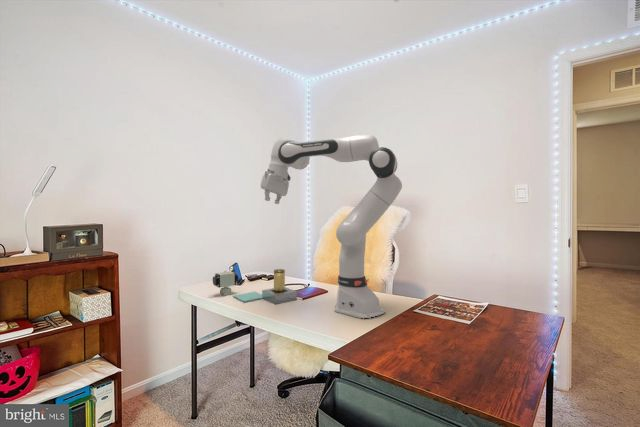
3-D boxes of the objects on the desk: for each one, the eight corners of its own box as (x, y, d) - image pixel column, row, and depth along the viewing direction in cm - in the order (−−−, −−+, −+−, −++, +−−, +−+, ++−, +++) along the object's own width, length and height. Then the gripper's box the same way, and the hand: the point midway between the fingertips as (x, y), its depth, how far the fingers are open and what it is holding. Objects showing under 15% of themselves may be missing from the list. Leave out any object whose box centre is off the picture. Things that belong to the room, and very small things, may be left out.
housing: (296, 299, 160) (296, 291, 159) (275, 304, 152) (275, 295, 152) (283, 294, 169) (283, 286, 169) (262, 298, 161) (262, 290, 161)
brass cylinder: (286, 299, 160) (286, 270, 160) (277, 301, 157) (277, 271, 156) (281, 297, 164) (281, 268, 164) (271, 298, 161) (271, 270, 160)
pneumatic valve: (238, 293, 170) (238, 270, 170) (216, 297, 163) (215, 273, 162) (233, 291, 174) (233, 268, 174) (211, 295, 167) (211, 271, 167)
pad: (266, 298, 162) (266, 296, 162) (244, 302, 154) (244, 301, 154) (255, 293, 171) (255, 291, 171) (233, 297, 164) (233, 295, 164)
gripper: (272, 168, 145) (267, 199, 145) (292, 178, 165) (287, 206, 164) (260, 167, 148) (254, 197, 147) (280, 177, 167) (275, 204, 166)
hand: (271, 202), depth 155 cm, fingers open, 8 cm apart
